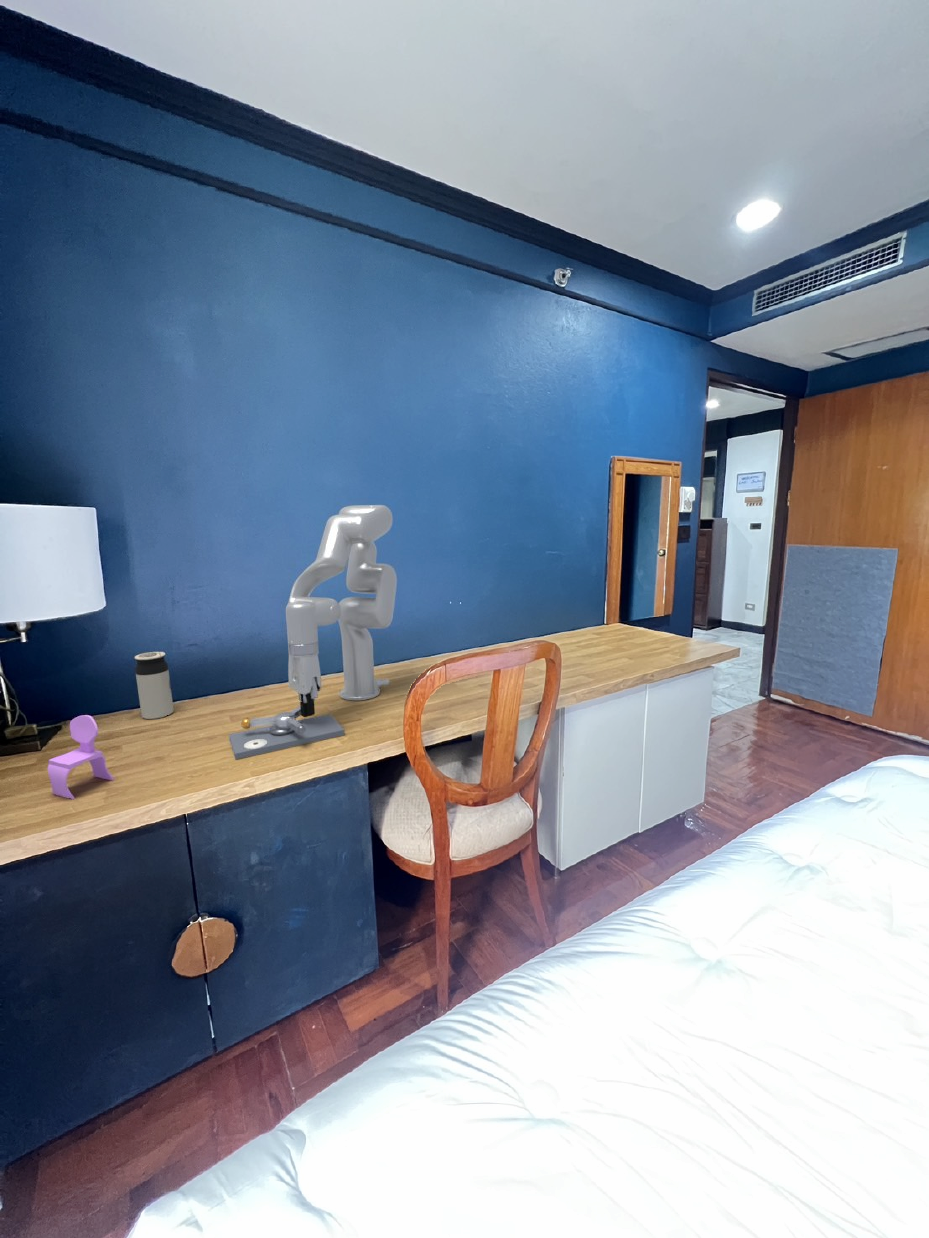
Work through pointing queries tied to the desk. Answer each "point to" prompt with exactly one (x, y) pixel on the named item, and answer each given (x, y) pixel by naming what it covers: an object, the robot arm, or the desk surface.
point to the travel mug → (153, 685)
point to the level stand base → (284, 737)
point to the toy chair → (78, 756)
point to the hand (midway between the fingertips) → (308, 715)
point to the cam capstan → (278, 723)
